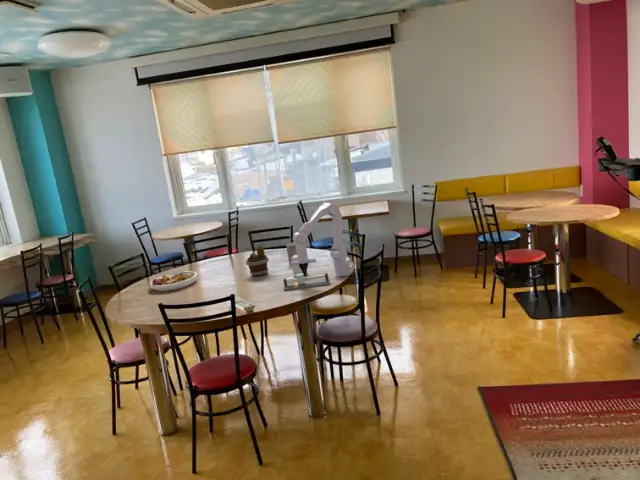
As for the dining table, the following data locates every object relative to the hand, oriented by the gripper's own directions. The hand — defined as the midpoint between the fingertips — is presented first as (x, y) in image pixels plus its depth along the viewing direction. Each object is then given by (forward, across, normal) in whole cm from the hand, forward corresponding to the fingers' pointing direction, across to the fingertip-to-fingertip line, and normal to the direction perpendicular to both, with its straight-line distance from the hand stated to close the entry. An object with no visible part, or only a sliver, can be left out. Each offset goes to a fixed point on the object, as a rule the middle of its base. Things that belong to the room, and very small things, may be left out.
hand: (305, 275), depth 295 cm
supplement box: (+6, -4, +22) cm, 23 cm away
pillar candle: (+6, -10, +55) cm, 56 cm away
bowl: (+6, -90, +40) cm, 98 cm away
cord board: (+6, 0, 0) cm, 6 cm away
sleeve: (+3, -3, 0) cm, 4 cm away
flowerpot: (+6, -32, +38) cm, 50 cm away
